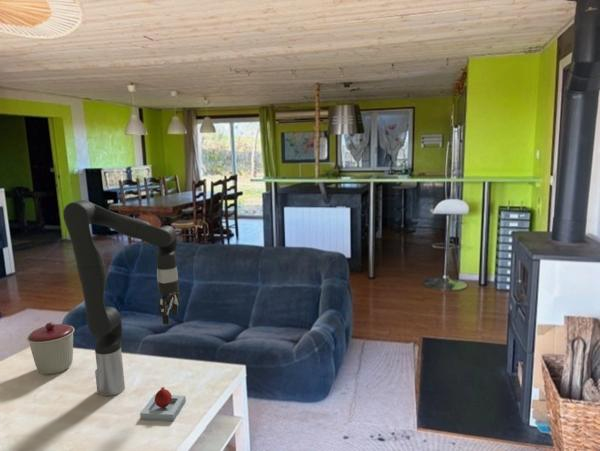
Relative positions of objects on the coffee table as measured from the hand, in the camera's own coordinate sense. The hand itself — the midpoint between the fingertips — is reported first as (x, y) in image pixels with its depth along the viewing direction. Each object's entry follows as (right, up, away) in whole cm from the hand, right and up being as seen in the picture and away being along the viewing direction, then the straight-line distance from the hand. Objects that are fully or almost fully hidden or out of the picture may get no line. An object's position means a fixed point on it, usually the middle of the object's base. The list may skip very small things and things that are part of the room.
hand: (170, 319), depth 174 cm
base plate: (0, -31, -10) cm, 32 cm away
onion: (0, -30, -10) cm, 32 cm away
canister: (-56, -26, +23) cm, 66 cm away
